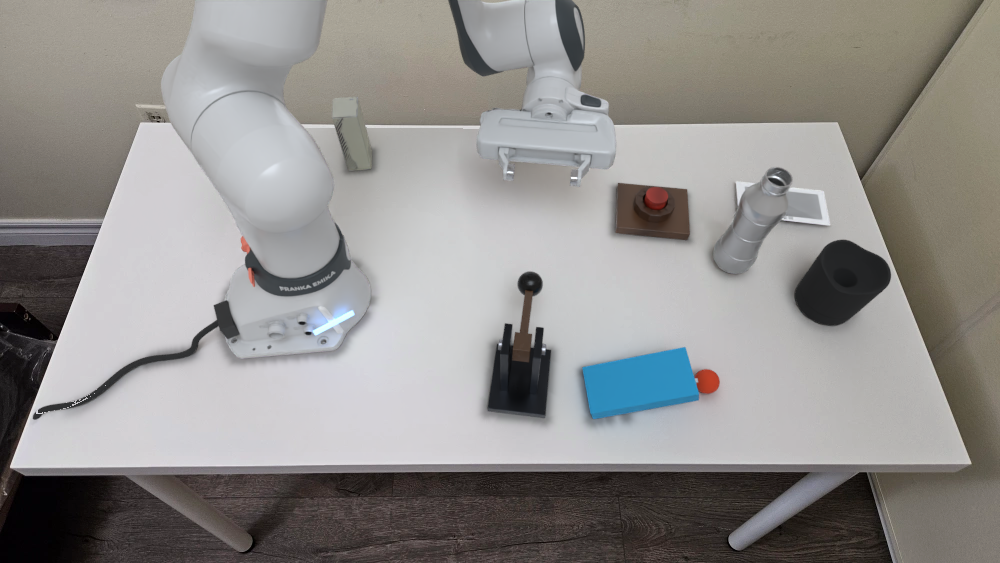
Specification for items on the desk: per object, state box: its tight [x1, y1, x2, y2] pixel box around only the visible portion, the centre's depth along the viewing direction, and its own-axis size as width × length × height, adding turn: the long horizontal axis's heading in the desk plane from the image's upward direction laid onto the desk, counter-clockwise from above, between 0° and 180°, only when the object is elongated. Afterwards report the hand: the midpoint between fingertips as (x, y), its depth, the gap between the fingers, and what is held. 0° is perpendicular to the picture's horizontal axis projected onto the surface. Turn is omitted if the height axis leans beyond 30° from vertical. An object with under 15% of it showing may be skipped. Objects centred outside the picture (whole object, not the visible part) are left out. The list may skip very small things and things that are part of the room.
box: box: [331, 96, 373, 172], centre depth 101 cm, size 5×4×13 cm
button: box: [644, 186, 668, 210], centre depth 96 cm, size 4×4×2 cm
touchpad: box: [735, 180, 831, 227], centre depth 99 cm, size 8×15×2 cm, turn 81°
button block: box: [614, 182, 691, 241], centre depth 98 cm, size 12×10×4 cm
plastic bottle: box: [712, 166, 794, 275], centre depth 85 cm, size 6×7×20 cm
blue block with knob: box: [582, 346, 721, 420], centre depth 80 cm, size 7×7×18 cm
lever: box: [512, 270, 544, 362], centre depth 77 cm, size 14×4×4 cm, turn 173°
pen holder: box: [794, 239, 892, 326], centre depth 85 cm, size 9×9×10 cm
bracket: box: [486, 322, 552, 419], centre depth 77 cm, size 10×8×13 cm
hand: (541, 180), depth 80 cm, fingers open, 8 cm apart
